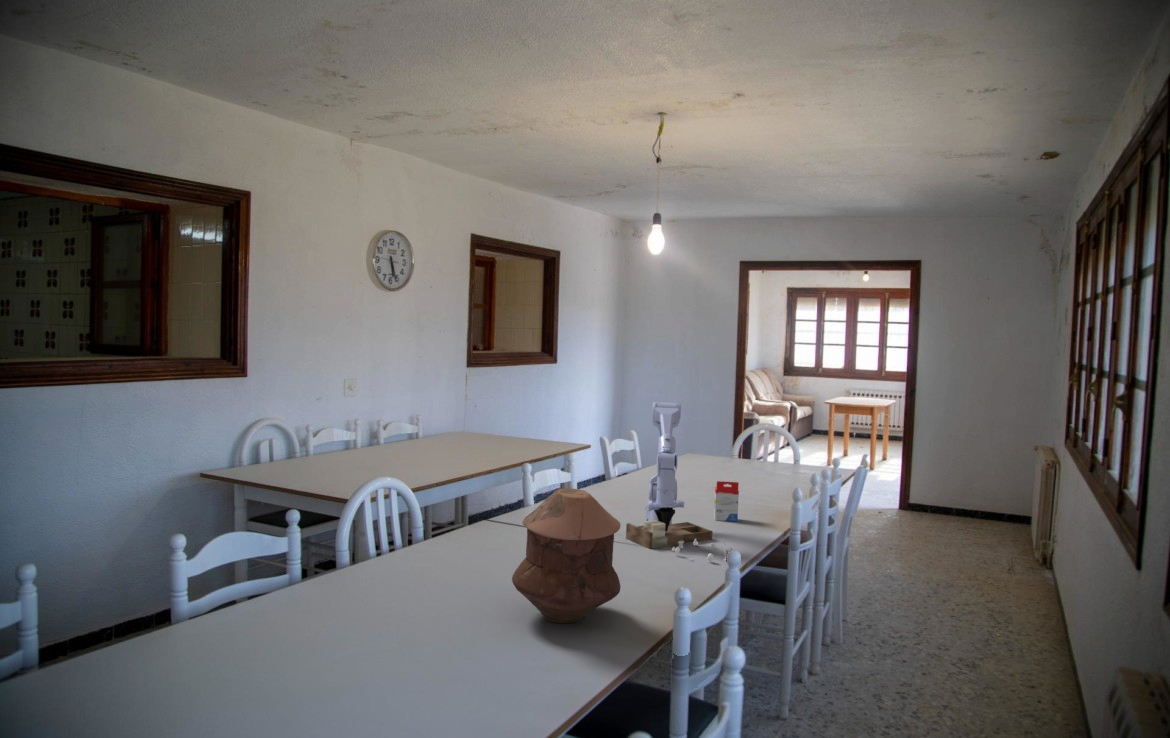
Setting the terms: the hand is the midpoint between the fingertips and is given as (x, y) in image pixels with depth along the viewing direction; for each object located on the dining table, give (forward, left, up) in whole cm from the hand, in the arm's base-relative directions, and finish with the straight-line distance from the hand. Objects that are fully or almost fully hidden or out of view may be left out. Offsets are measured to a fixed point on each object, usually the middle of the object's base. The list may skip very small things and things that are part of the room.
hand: (663, 530), depth 249 cm
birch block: (0, -4, -1) cm, 4 cm away
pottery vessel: (+42, -62, -4) cm, 75 cm away
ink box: (-16, +41, -4) cm, 45 cm away
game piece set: (+15, +4, -4) cm, 16 cm away
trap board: (-4, +4, -4) cm, 7 cm away
